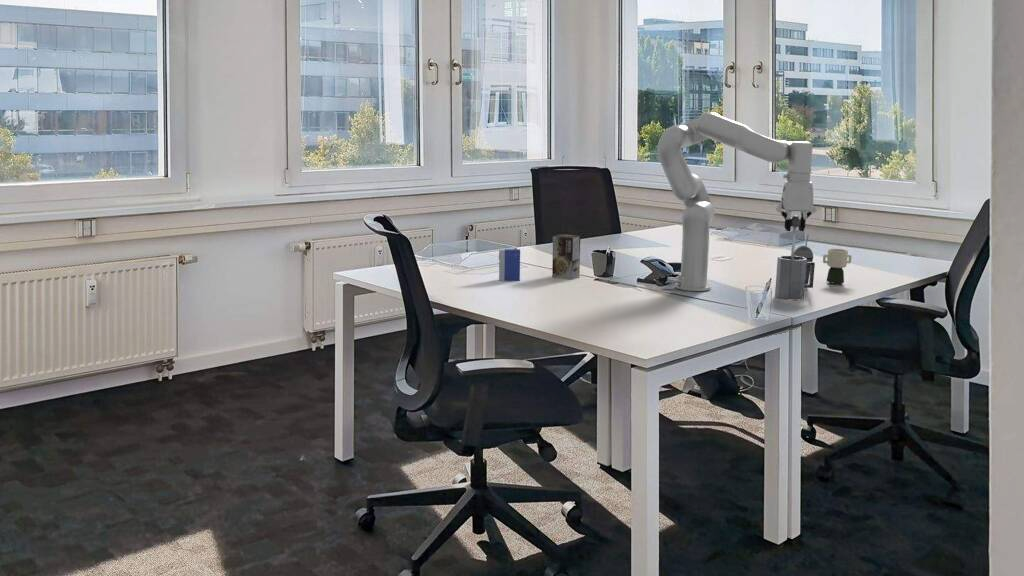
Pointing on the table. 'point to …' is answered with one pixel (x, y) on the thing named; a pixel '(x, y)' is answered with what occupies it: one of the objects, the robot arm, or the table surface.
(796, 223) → the plunger
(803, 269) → the carafe
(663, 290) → the table surface
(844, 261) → the character mug
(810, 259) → the beverage cup
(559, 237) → the coffee box
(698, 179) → the robot arm
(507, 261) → the walkman
